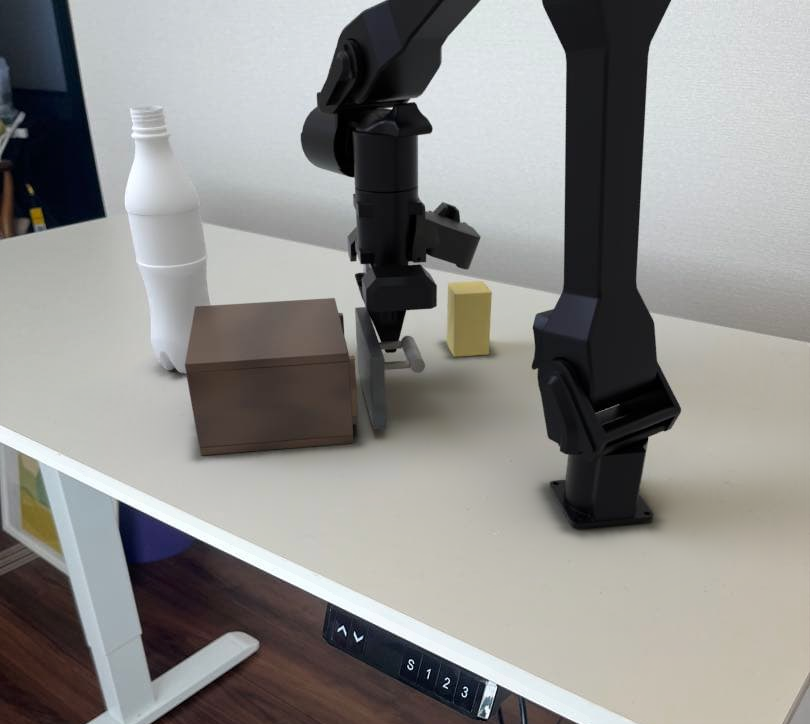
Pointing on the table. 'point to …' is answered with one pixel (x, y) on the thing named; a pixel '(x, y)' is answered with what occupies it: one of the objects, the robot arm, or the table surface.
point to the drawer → (376, 366)
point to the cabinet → (269, 376)
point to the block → (468, 318)
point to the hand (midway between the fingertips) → (390, 351)
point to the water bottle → (166, 236)
